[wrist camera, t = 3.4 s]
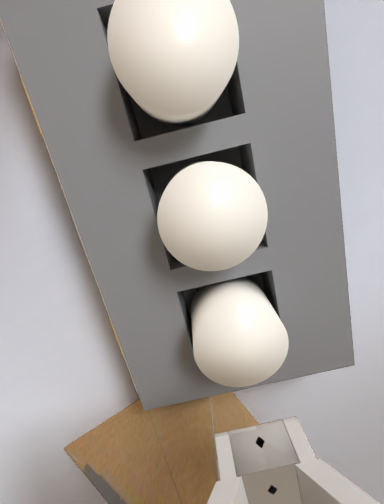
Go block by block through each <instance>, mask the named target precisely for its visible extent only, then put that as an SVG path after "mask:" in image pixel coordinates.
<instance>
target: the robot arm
mask: <svg viewBox="0 0 384 504" xmlns="http://www.w3.org/2000/svg"><path fill="white" fill-rule="evenodd" d="M215 446H216V453H217V461H218V468H219V476H220V481H217V482H216V483H215V485H214V488H213V490H212V492H211V495H210V497H209V500H208V502H207V504H380V503H379V502H377V501H376V500H375V499H374V498H372V497H371V496H370V495H368V494H367V493H366V492H364V491H363V490H362V489H360V488H359V487H358V486H356V485H355V484H354V483H352V482H351V481H350V480H349V479H347V478H346V477H345V476H343V475H342V474H341V473H339V472H338V471H337V470H335V469H334V468H333V467H331V466H330V465H329V464H328V463H326V462H325V461H324V460H322V459H316V457H315V455H314V452H313V450H312V448H311V446H310V444H309V442H308V440H307V437H306V435H305V433H304V431H303V429H302V427H301V425H300V422H299V420H298V418H297V417H296V416H294V417H290V418H285V419H282V420H281V419H280V420H276V421H272V422H267V423H263V424H259V425H255V426H252V427H247V428H242V429H237V430H231V431H229V432H228V431H227V432H222V433H217V434H215Z"/></svg>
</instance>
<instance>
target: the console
mask: <svg viewBox="0 0 384 504" xmlns="http://www.w3.org/2000/svg"><path fill="white" fill-rule="evenodd" d="M114 1H115V0H0V23H1V25H2V28H3V31H4V33H5V36H6V39H7V42H8V44H9V47H10V50H11V52H12V55H13V58H14V61H15V63H16V66H17V69H18V71H19V74H20V77H21V78H20V80H21V82H22V85H23V88H24V90H25V93H26V96H27V99H28V101H29V104H30V107H31V109H32V112H33V115H34V118H35V120H36V123H37V126H38V128H39V131H40V134H41V136H42V137H43V139H44V142H45V145H46V147H47V150H48V153H49V156H50V158H51V161H52V164H53V166H54V169H55V172H56V175H57V177H58V180H59V183H60V186H61V188H62V191H63V194H64V196H65V199H66V202H67V205H68V207H69V210H70V213H71V218H72V220H73V223H74V226H75V229H76V231H77V234H78V237H79V239H80V242H81V245H82V248H83V250H84V253H85V256H86V258H87V260H88V262H89V264H90V267H91V270H92V272H93V275H94V278H95V281H96V283H97V286H98V289H99V291H100V294H101V297H102V300H103V302H104V305H105V308H106V310H107V313H108V316H109V319H110V323H111V326H112V329H113V332H114V334H115V337H116V340H117V342H118V345H119V348H120V350H121V353H122V356H123V357H124V359H125V362H126V365H127V367H128V370H129V373H130V376H131V378H132V381H133V384H134V386H135V389H136V392H137V393H138V395H139V398H140V400H141V403H142V406H143V408H144V411H145V410H150V409H154V408H159V407H164V406H168V405H173V404H178V403H182V402H187V401H191V400H196V399H201V398H205V397H210V396H214V395H219V394H224V393H228V392H233V391H238V390H242V389H247V388H251V387H256V386H261V385H265V384H270V383H274V382H279V381H284V380H288V379H293V378H298V377H302V376H307V375H311V374H316V373H321V372H325V371H330V370H334V369H339V368H344V367H348V366H353V365H355V364H354V352H353V340H352V329H351V317H350V305H349V293H348V281H347V269H346V258H345V246H344V234H343V222H342V210H341V198H340V187H339V175H338V163H337V151H336V139H335V127H334V116H333V104H332V92H331V80H330V68H329V56H328V44H327V33H326V21H325V9H324V0H230V2H231V5H232V7H233V9H234V12H235V15H236V19H237V24H238V31H239V50H238V57H237V62H236V66H235V68H234V71H233V74H232V76H231V78H230V80H229V82H228V84H227V85H226V87H225V89H224V90H223V92H222V94H221V95H220V97H219V99H218V100H217V102H216V103H215V105H214V106H213V108H212V109H211V110H210V111H209V112H208V113H207V114H206V115H205V116H204V117H202V118H201V119H199V120H198V121H196V122H194V123H191V124H188V125H182V126H172V125H166V124H163V123H160V122H158V121H156V120H154V119H152V118H151V117H150V116H148V115H147V114H146V113H145V112H144V111H143V110H142V109H141V108H140V107H139V105H138V104H137V103H136V102H135V101H134V99H133V98H132V97H131V96H130V94H129V93H128V92H127V91H126V90H125V88H124V87H123V86H122V84H121V82H120V81H119V79H118V77H117V75H116V73H115V71H114V69H113V66H112V63H111V60H110V55H109V51H108V42H107V30H108V22H109V17H110V13H111V9H112V7H113V4H114ZM200 161H214V162H223V163H227V164H231V165H234V166H236V167H238V168H240V169H242V170H244V171H245V172H246V173H248V174H249V175H250V176H251V177H252V178H253V179H254V180H255V181H256V182H257V184H258V185H259V186H260V188H261V190H262V192H263V194H264V197H265V199H266V204H267V210H268V221H267V227H266V230H265V234H264V236H263V238H262V241H261V242H260V244H259V246H258V247H257V248H256V250H255V251H254V252H253V253H252V254H251V255H250V256H249V257H248V258H247V259H246V260H244V261H243V262H241V263H240V264H238V265H236V266H234V267H231V268H229V269H225V270H220V271H201V270H197V269H194V268H191V267H188V266H186V265H184V264H183V263H181V262H180V261H178V260H177V259H176V258H175V257H173V256H172V254H171V253H170V252H169V251H168V250H167V248H166V247H165V245H164V243H163V241H162V239H161V237H160V234H159V230H158V224H157V211H158V206H159V202H160V199H161V197H162V194H163V192H164V190H165V189H166V187H167V185H168V183H169V182H170V180H171V179H172V177H173V176H174V175H175V174H176V173H177V172H178V171H179V170H181V169H182V168H184V167H185V166H187V165H189V164H192V163H195V162H200ZM244 276H246V277H248V278H250V279H252V280H253V281H255V282H256V283H257V284H258V285H259V286H260V287H261V289H262V290H263V292H264V294H265V295H266V297H267V299H268V300H269V302H270V304H271V305H272V307H273V309H274V310H275V312H276V313H277V315H278V317H279V318H280V320H281V322H282V323H283V325H284V327H285V329H286V331H287V334H288V340H289V347H288V352H287V356H286V358H285V360H284V362H283V364H282V365H281V367H280V368H279V369H278V370H277V371H276V372H275V373H274V374H273V375H272V376H271V377H269V378H268V379H266V380H264V381H262V382H260V383H258V384H255V385H251V386H246V387H229V386H224V385H221V384H218V383H216V382H214V381H212V380H210V379H209V378H208V377H206V376H205V375H204V374H203V373H202V372H201V370H200V369H199V367H198V366H197V364H196V361H195V359H194V354H193V337H192V319H191V304H192V300H193V297H194V295H195V293H196V292H197V290H198V289H199V288H200V287H201V286H205V285H210V284H214V283H218V282H223V281H227V280H231V279H235V278H240V277H244Z"/></svg>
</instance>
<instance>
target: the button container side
mask: <svg viewBox="0 0 384 504" xmlns="http://www.w3.org/2000/svg"><path fill="white" fill-rule="evenodd" d="M191 319H192V337H193V354H194V359H195V361H196V364H197V366H198V367H199V369H200V370H201V372H202V373H203V374H204V375H205V376H206V377H208V378H209V379H210V380H212V381H214V382H216V383H218V384H221V385H224V386H229V387H246V386H251V385H255V384H258V383H260V382H262V381H264V380H266V379H268V378H269V377H271V376H272V375H273V374H274V373H275V372H276V371H277V370H278V369H279V368H280V367H281V365H282V364H283V362H284V360H285V358H286V356H287V352H288V347H289V340H288V334H287V331H286V329H285V327H284V325H283V323H282V322H281V320H280V318H279V317H278V315H277V313H276V312H275V310H274V309H273V307H272V305H271V304H270V302H269V300H268V299H267V297H266V295H265V294H264V292H263V290H262V289H261V287H260V286H259V285H258V284H257V283H256V282H255V281H253V280H252V279H250V278H248V277H246V276H244V277H240V278H235V279H231V280H227V281H223V282H218V283H214V284H210V285H205V286H201V287H200V288H199V289H198V290H197V292H196V293H195V295H194V297H193V300H192V304H191Z"/></svg>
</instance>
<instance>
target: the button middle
mask: <svg viewBox="0 0 384 504" xmlns="http://www.w3.org/2000/svg"><path fill="white" fill-rule="evenodd" d="M267 221H268V210H267V204H266V199H265V197H264V194H263V192H262V190H261V188H260V186H259V185H258V184H257V182H256V181H255V180H254V179H253V178H252V177H251V176H250V175H249V174H248V173H246V172H245V171H244V170H242V169H240V168H238V167H236V166H234V165H231V164H227V163H223V162H214V161H200V162H195V163H192V164H189V165H187V166H185V167H184V168H182V169H181V170H179V171H178V172H177V173H176V174H175V175H174V176H173V177H172V179H171V180H170V182H169V183H168V185H167V187H166V189H165V190H164V192H163V194H162V197H161V199H160V202H159V206H158V211H157V224H158V230H159V234H160V237H161V239H162V241H163V243H164V245H165V247H166V248H167V250H168V251H169V252H170V253H171V254H172V256H173V257H175V258H176V259H177V260H178V261H180V262H181V263H183V264H184V265H186V266H188V267H191V268H194V269H197V270H201V271H220V270H225V269H229V268H231V267H234V266H236V265H238V264H240V263H241V262H243V261H244V260H246V259H247V258H248V257H249V256H250V255H251V254H252V253H253V252H254V251H255V250H256V248H257V247H258V246H259V244H260V242H261V241H262V238H263V236H264V234H265V230H266V227H267Z"/></svg>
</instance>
